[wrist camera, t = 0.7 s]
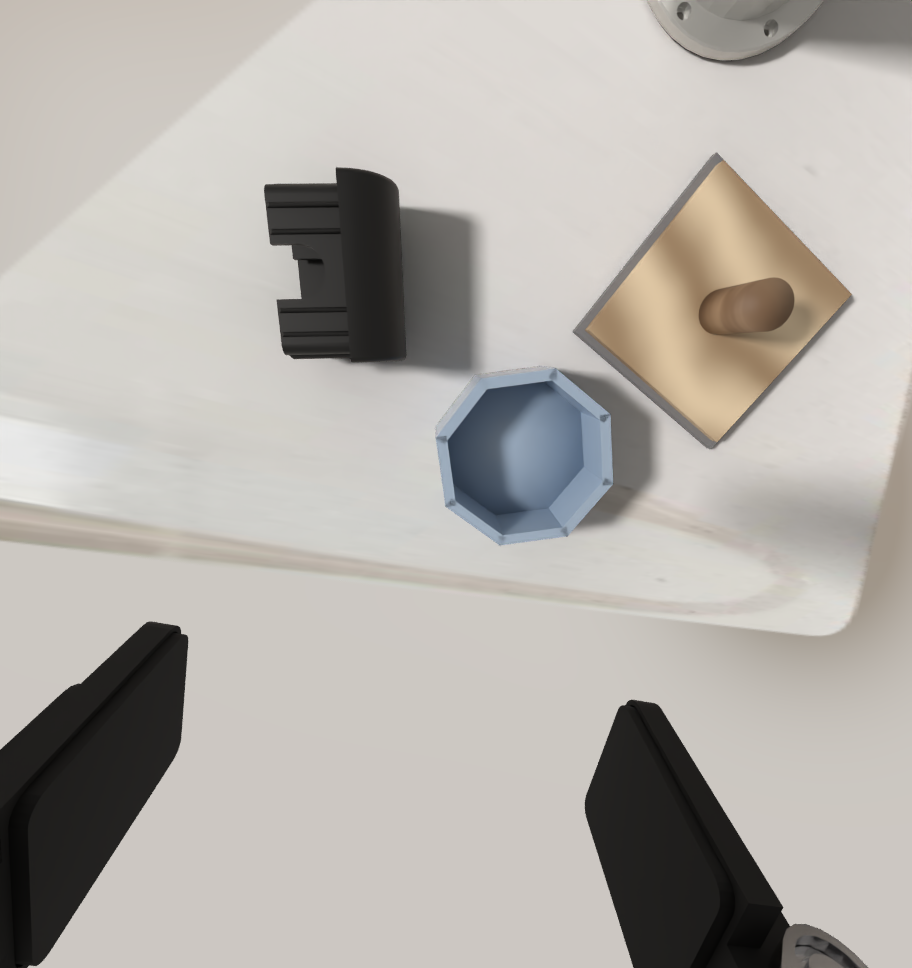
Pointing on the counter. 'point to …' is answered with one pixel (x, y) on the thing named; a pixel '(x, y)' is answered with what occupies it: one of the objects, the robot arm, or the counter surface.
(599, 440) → the bowl
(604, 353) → the mat
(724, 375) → the lid
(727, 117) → the counter surface
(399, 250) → the end cap
